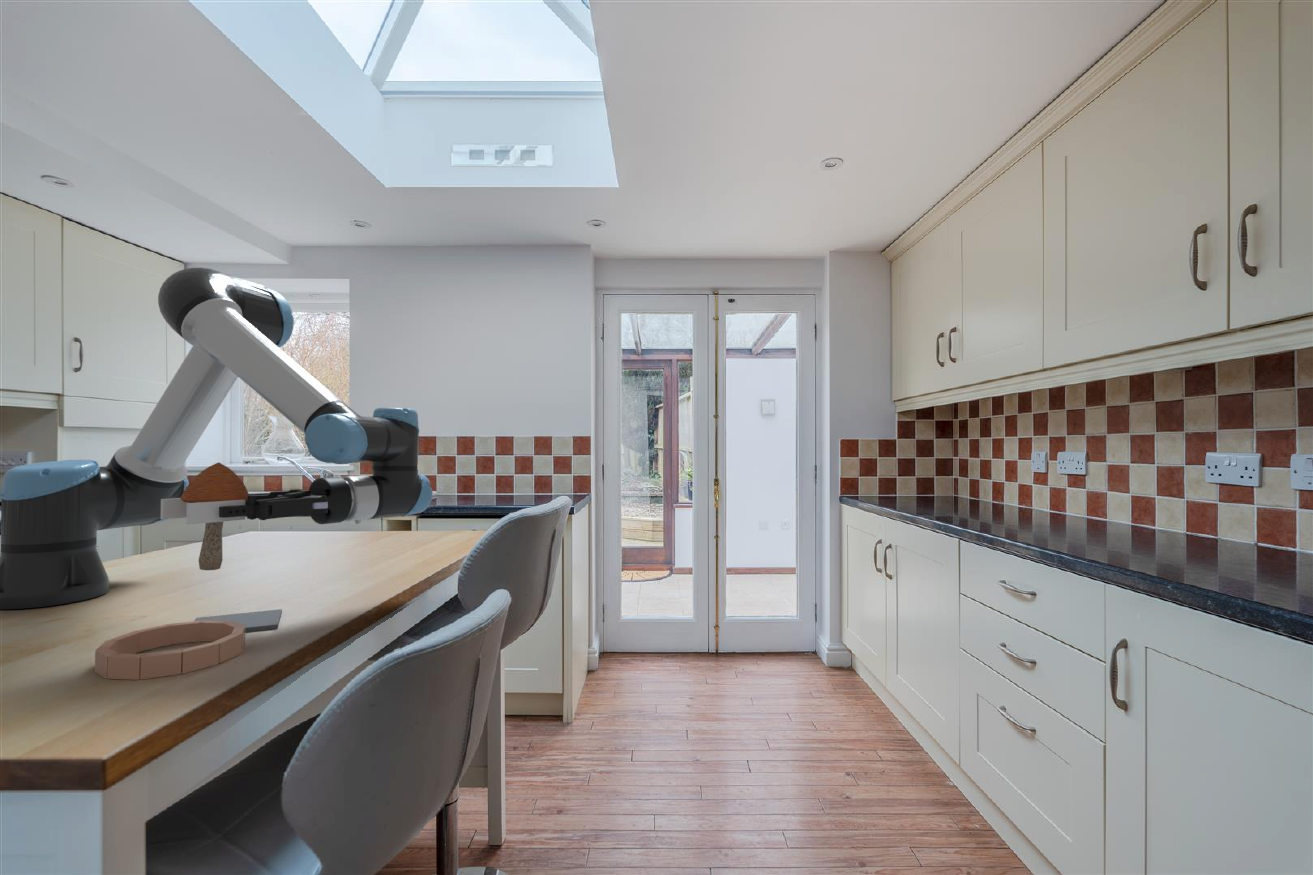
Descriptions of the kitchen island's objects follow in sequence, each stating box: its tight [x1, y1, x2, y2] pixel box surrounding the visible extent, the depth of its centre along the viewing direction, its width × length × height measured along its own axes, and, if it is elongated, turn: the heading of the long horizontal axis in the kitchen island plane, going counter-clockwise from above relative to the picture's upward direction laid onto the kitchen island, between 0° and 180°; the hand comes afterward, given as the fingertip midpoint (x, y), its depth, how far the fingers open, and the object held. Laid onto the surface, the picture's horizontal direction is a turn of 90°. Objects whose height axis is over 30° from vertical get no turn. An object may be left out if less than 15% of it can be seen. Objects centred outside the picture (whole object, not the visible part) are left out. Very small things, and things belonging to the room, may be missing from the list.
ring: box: [94, 620, 247, 680], centre depth 76 cm, size 14×14×2 cm
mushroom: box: [180, 461, 250, 571], centre depth 85 cm, size 8×8×15 cm
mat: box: [193, 608, 283, 633], centre depth 90 cm, size 9×11×1 cm
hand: (174, 511), depth 81 cm, fingers closed on mushroom, 8 cm apart
